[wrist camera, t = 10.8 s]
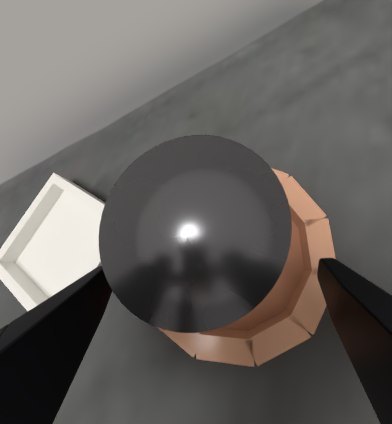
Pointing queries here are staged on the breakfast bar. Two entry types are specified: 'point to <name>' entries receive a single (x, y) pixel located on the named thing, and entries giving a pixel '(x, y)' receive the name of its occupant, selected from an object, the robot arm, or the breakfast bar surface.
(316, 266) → the bowl
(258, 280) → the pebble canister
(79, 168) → the breakfast bar surface
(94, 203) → the tray
